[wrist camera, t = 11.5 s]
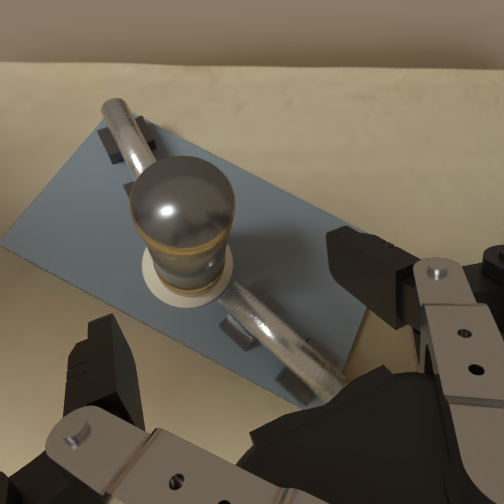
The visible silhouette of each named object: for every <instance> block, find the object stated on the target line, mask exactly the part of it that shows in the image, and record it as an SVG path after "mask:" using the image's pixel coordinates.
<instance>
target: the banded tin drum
mask: <svg viewBox="0 0 504 504" xmlns="http://www.w3.org/2000/svg"><path fill="white" fill-rule="evenodd" d="M129 207H130V213H131V216H132V219H133V221H134V224H135V226H136V228H137V231H138V233H139V235H140V237H141V239H142V240H143V242H144V243H145V244H146V246H147V248H148V251H149V253H150V255H151V258H152V260H153V265H154V268H155V271H156V273H157V276H158V278H159V280H160V282H161V283H162V284H163V286H164V287H165V288H166V289H168V290H169V291H170V292H172V293H174V294H176V295H179V296H183V297H196V296H200V295H203V294H205V293H207V292H209V291H210V290H212V289H213V288H214V287H215V286H216V285H217V284H218V282H219V281H220V279H221V277H222V275H223V272H224V267H225V261H226V253H225V252H226V247H227V241H228V236H229V234H230V231H231V228H232V224H233V219H234V213H235V208H236V200H235V194H234V190H233V187H232V185H231V183H230V181H229V180H228V178H227V177H226V176H225V174H224V173H223V172H222V171H221V170H220V169H218V168H217V167H216V166H214V165H213V164H211V163H210V162H208V161H205V160H203V159H200V158H197V157H192V156H172V157H167V158H164V159H161V160H159V161H157V162H155V163H153V164H152V165H150V166H149V167H147V168H146V169H145V170H144V171H143V172H142V173H141V174H140V176H139V177H138V178H137V180H136V181H135V183H134V185H133V187H132V190H131V193H130V199H129Z"/></svg>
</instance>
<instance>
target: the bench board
mask: <svg viewBox="0 0 504 504" xmlns="http://www.w3.org/2000/svg"><path fill="white" fill-rule="evenodd" d="M132 115H133V116H134V118H137V117H139V116H137V115H135V114H133V113H132ZM144 120H145V119H144ZM145 122H146V124H147V126H148V128H149V130H150V131H151V133H152V135H153V137H154V139H155V143H156V148H157V149H155V150H152V153H153V155H154V157H155V159H156V161H159V160H161V159H164V158H167V157H172V156H192V157H197V158H200V159H203V160H205V161H208V162H210V163H211V164H213V165H214V166H216V167H217V168H218V169H220V170H221V171H222V172H223V173H224V174H225V176H226V177H227V178H228V180H229V181H230V183H231V185H232V187H233V190H234V194H235V200H236V208H235V213H234V219H233V224H232V228H231V231H230V234H229V236H228V241H227V247H226V252H225V253H226V261H225V267H224V272H223V275H222V277H221V279H220V281H219V282H218V284H217V285H216V286H215V287H214V288H213V289H212V290H210V291H209V292H207V293H205V294H203V295H200V296H196V297H183V296H179V295H176V294H174V293H172V292H170V291H169V290H168V289H166V288H165V287H164V286H163V284H162V283H161V282H160V280H159V278H158V276H157V273H156V271H155V268H154V265H153V260H152V258H151V255H150V253H149V251H148V248H147V246H146V244H145V243H144V242H143V240H142V239H141V237H140V235H139V233H138V231H137V228H136V226H135V224H134V221H133V219H132V216H131V213H130V207H129V198H128V196H127V194H126V192H125V189H124V187H123V185H124V184H127V183H129V182H132V181H134V179H133V177H132V175H131V173H130V171H129V169H128V167H127V165H126V163H125V161H121V162H118V163H115V164H113V165H112V162H111V160H110V158H109V156H108V154H107V152H106V150H105V148H104V146H103V144H102V141H101V139H100V137H99V135H98V132H97V130H100V129H103V128H106V127H108V126H107V124H106V122H105V120H104V119H103V120H102V121H101V122H100V124H99V125H98V126H97V127H96V128H95V129H94V131H93V132H92V133H91V134H90V135H89V136H88V138H87V139H86V140H85V141H84V142H83V143H82V145H81V146H80V147H79V148H78V149H77V151H76V152H75V153H74V154H73V155H72V156H71V158H70V159H69V160H68V161H67V162H66V163H65V165H64V166H63V167H62V168H61V169H60V171H59V172H58V173H57V174H56V175H55V176H54V178H53V179H52V180H51V181H50V182H49V183H48V185H47V186H46V187H45V188H44V189H43V190H42V192H41V193H40V194H39V195H38V196H37V198H36V199H35V200H34V201H33V202H32V203H31V205H30V206H29V207H28V208H27V209H26V210H25V212H24V213H23V214H22V215H21V216H20V217H19V219H18V220H17V221H16V222H15V223H14V225H13V226H12V227H11V228H10V229H9V230H8V232H7V233H6V234H5V235H4V236H3V237H2V239H1V240H0V246H2V247H3V248H5V249H6V250H8V251H10V252H12V253H14V254H16V255H18V256H19V257H21V258H23V259H25V260H27V261H29V262H31V263H32V264H34V265H36V266H38V267H40V268H42V269H44V270H45V271H47V272H49V273H51V274H53V275H55V276H57V277H58V278H60V279H62V280H64V281H66V282H68V283H70V284H71V285H73V286H75V287H77V288H79V289H81V290H83V291H84V292H86V293H88V294H90V295H92V296H94V297H96V298H97V299H99V300H101V301H103V302H105V303H107V304H109V305H110V306H112V307H114V308H116V309H118V310H120V311H122V312H123V313H125V314H127V315H129V316H131V317H133V318H135V319H136V320H138V321H140V322H142V323H144V324H146V325H148V326H149V327H151V328H153V329H155V330H157V331H159V332H161V333H162V334H164V335H166V336H168V337H170V338H172V339H174V340H175V341H177V342H179V343H181V344H183V345H185V346H187V347H188V348H190V349H192V350H194V351H196V352H198V353H200V354H201V355H203V356H205V357H207V358H209V359H211V360H212V361H214V362H216V363H218V364H220V365H222V366H224V367H225V368H227V369H229V370H231V371H233V372H235V373H237V374H238V375H240V376H242V377H244V378H246V379H248V380H250V381H251V382H253V383H255V384H257V385H259V386H261V387H263V388H264V389H266V390H268V391H270V392H272V393H274V394H276V395H277V396H279V397H281V398H283V399H285V400H287V401H289V402H290V403H292V404H294V405H296V406H298V407H300V408H302V409H303V410H306V409H310V408H314V407H318V406H322V405H325V404H327V403H328V402H327V403H324V402H323V401H322V400H321V399H320V398H319V397H318V396H317V395H316V394H315V396H314V397H313V398H312V400H311V401H310V402H309V404H308V405H307V406H303V405H301V404H300V403H299V402H298V401H297V400H295V399H294V398H293V397H292V396H291V395H290V394H289V393H288V392H287V391H286V390H285V389H284V388H283V387H282V386H281V385H280V384H278V383H277V382H276V381H275V380H274V379H275V378H276V377H277V375H278V374H279V373H280V372H281V371H282V369H283V368H284V367H285V365H284V364H283V363H282V362H280V361H279V360H278V359H277V358H276V357H275V356H274V355H273V354H272V353H271V352H270V351H269V350H268V349H267V348H265V347H264V346H263V345H262V344H261V343H260V342H259V341H258V340H257V339H255V341H254V342H253V343H252V344H251V345H250V346H249V347H248V349H247V350H246V351H243V350H242V349H241V348H240V347H239V346H238V345H237V344H236V343H235V342H234V341H233V340H232V339H231V338H230V337H229V336H228V335H227V334H225V333H224V332H223V331H222V330H221V329H220V328H219V324H220V323H221V322H222V321H223V320H224V319H225V318H226V317H227V316H228V315H229V313H228V312H227V311H226V310H225V309H224V308H222V307H221V306H220V305H219V304H218V303H217V301H218V300H219V298H220V297H221V296H222V295H223V293H224V292H225V291H226V290H227V289H228V288H229V287H230V286H231V285H232V284H233V283H234V282H235V281H236V280H239V281H240V282H241V283H242V284H244V285H245V286H246V287H247V288H248V289H249V290H250V291H251V290H252V289H253V288H254V287H255V286H256V287H258V288H259V289H260V290H261V291H262V292H263V293H264V294H265V295H266V296H267V297H269V298H270V299H271V300H272V301H273V302H274V303H275V304H276V305H277V306H279V307H280V308H281V309H282V310H281V311H280V312H279V313H278V314H277V315H278V316H279V317H280V318H281V319H282V320H283V321H284V322H285V323H286V324H288V325H289V326H290V327H291V328H292V329H293V330H294V331H295V332H296V333H297V334H298V335H300V336H301V337H302V338H303V339H304V340H305V341H306V340H307V339H308V338H310V337H313V338H314V339H315V340H316V341H317V342H318V343H319V344H320V345H322V346H323V347H324V348H325V349H326V350H327V351H328V352H329V353H330V354H332V355H333V356H334V357H335V358H336V359H337V360H338V361H339V364H338V365H337V366H336V369H337V370H338V371H339V372H340V373H341V374H342V371H343V368H344V366H345V363H346V361H347V358H348V355H349V353H350V350H351V347H352V345H353V342H354V340H355V337H356V334H357V332H358V329H359V326H360V324H361V321H362V319H363V316H364V313H365V311H366V308H367V307H366V306H365V305H364V304H363V303H361V302H360V301H359V300H358V299H356V298H355V297H354V296H353V295H352V294H350V293H349V292H348V291H347V290H345V289H344V288H343V287H342V286H340V285H339V284H338V283H337V282H336V281H335V280H334V279H333V277H332V275H331V273H330V270H329V265H328V256H327V246H326V233H327V232H329V231H331V230H334V229H337V228H339V227H342V226H345V225H346V226H349V227H351V228H352V229H354V230H356V231H358V232H360V233H366V232H364V231H362V230H360V229H358V228H356V227H354V226H352V225H351V224H349V223H347V222H345V221H343V220H341V219H339V218H337V217H335V216H333V215H331V214H329V213H327V212H325V211H323V210H321V209H319V208H317V207H315V206H313V205H311V204H309V203H307V202H305V201H303V200H302V199H300V198H298V197H296V196H294V195H292V194H290V193H288V192H286V191H284V190H282V189H280V188H278V187H276V186H274V185H272V184H270V183H268V182H266V181H264V180H262V179H260V178H258V177H256V176H255V175H253V174H251V173H249V172H247V171H245V170H243V169H241V168H239V167H237V166H235V165H233V164H231V163H229V162H227V161H225V160H223V159H221V158H219V157H217V156H215V155H213V154H211V153H209V152H208V151H206V150H204V149H202V148H200V147H198V146H196V145H194V144H192V143H190V142H188V141H186V140H184V139H182V138H180V137H178V136H176V135H174V134H172V133H170V132H168V131H166V130H164V129H162V128H160V127H159V126H157V125H155V124H153V123H151V122H149V121H147V120H145ZM367 234H368V233H367Z"/></svg>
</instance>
